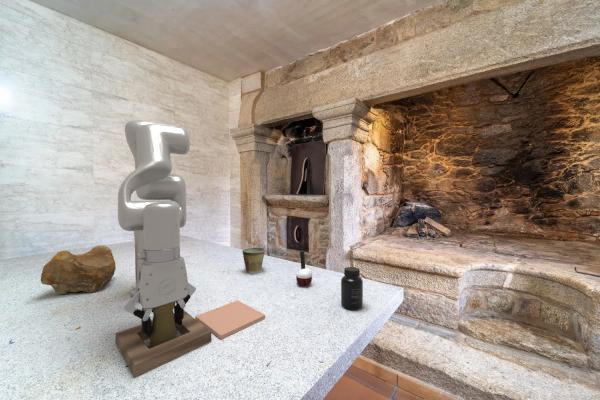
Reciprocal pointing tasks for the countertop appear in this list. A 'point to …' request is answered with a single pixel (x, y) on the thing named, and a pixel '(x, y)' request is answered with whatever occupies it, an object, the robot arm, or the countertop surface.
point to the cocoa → (304, 273)
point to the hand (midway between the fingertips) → (163, 327)
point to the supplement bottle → (352, 289)
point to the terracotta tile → (229, 318)
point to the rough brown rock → (79, 270)
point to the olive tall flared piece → (163, 325)
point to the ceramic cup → (253, 259)
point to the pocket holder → (149, 359)
